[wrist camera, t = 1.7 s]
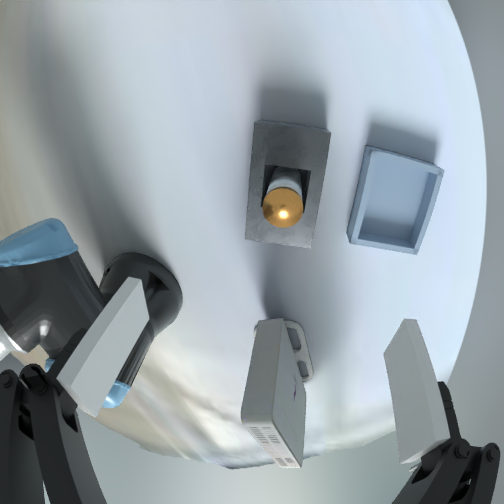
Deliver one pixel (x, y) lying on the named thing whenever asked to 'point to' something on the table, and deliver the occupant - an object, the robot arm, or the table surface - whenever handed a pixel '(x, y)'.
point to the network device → (277, 392)
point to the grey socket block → (294, 156)
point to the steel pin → (284, 198)
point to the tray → (393, 201)
